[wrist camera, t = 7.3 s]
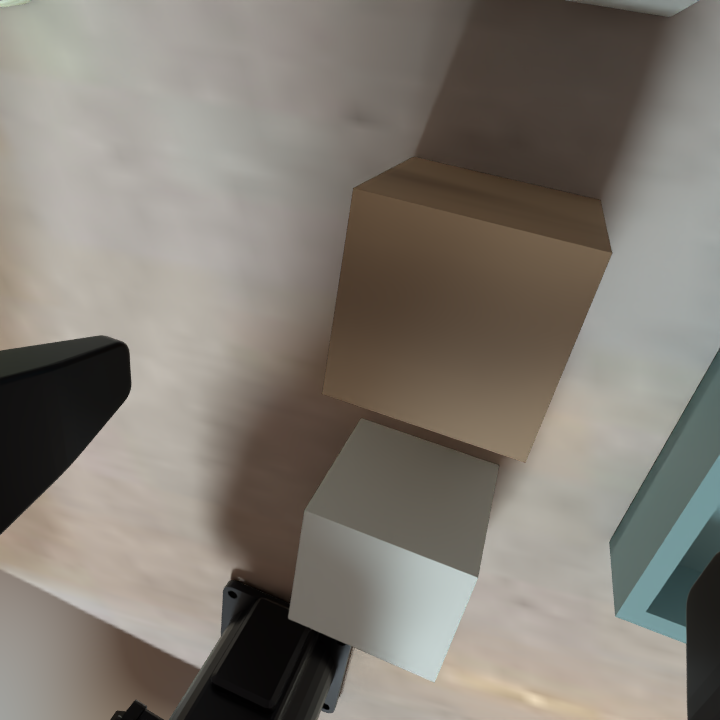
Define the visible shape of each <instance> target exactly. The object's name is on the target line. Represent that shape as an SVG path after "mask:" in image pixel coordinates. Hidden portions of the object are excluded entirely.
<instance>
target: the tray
mask: <svg viewBox="0 0 720 720" xmlns="http://www.w3.org/2000/svg"><path fill="white" fill-rule="evenodd" d="M609 543H610V556H611V569H612V582H613V594H614V607H615V617H618V618H621V619H623V620H626V621H628V622H631V623H634V624H636V625H639V626H641V627H644V628H647V629H649V630H652V631H654V632H657V633H660V634H662V635H665V636H668V637H670V638H673V639H675V640H678V641H681V642H683V643H686V602H687V597H688V594H689V591H690V589H691V587H692V586H693V584H694V583H695V582H696V580H697V579H698V578H699V576H700V575H701V573H702V572H703V571H704V569H705V568H706V566H707V565H708V564H709V562H710V561H711V559H712V558H713V557H714V556H715V555H716V553H718V552H719V551H720V349H719V351H718V353H717V355H716V356H715V358H714V360H713V362H712V363H711V365H710V367H709V369H708V370H707V372H706V374H705V376H704V377H703V379H702V381H701V383H700V384H699V386H698V388H697V390H696V391H695V393H694V395H693V397H692V398H691V400H690V402H689V404H688V405H687V407H686V409H685V411H684V412H683V414H682V416H681V418H680V419H679V421H678V423H677V425H676V426H675V428H674V430H673V432H672V433H671V435H670V437H669V439H668V440H667V442H666V444H665V446H664V447H663V449H662V451H661V453H660V454H659V456H658V458H657V460H656V461H655V463H654V465H653V467H652V468H651V470H650V472H649V474H648V475H647V477H646V479H645V481H644V482H643V484H642V486H641V488H640V489H639V491H638V493H637V495H636V496H635V498H634V500H633V502H632V503H631V505H630V507H629V509H628V510H627V512H626V514H625V516H624V517H623V519H622V521H621V523H620V524H619V526H618V528H617V530H616V531H615V533H614V535H613V537H612V538H611V540H610V542H609Z"/></svg>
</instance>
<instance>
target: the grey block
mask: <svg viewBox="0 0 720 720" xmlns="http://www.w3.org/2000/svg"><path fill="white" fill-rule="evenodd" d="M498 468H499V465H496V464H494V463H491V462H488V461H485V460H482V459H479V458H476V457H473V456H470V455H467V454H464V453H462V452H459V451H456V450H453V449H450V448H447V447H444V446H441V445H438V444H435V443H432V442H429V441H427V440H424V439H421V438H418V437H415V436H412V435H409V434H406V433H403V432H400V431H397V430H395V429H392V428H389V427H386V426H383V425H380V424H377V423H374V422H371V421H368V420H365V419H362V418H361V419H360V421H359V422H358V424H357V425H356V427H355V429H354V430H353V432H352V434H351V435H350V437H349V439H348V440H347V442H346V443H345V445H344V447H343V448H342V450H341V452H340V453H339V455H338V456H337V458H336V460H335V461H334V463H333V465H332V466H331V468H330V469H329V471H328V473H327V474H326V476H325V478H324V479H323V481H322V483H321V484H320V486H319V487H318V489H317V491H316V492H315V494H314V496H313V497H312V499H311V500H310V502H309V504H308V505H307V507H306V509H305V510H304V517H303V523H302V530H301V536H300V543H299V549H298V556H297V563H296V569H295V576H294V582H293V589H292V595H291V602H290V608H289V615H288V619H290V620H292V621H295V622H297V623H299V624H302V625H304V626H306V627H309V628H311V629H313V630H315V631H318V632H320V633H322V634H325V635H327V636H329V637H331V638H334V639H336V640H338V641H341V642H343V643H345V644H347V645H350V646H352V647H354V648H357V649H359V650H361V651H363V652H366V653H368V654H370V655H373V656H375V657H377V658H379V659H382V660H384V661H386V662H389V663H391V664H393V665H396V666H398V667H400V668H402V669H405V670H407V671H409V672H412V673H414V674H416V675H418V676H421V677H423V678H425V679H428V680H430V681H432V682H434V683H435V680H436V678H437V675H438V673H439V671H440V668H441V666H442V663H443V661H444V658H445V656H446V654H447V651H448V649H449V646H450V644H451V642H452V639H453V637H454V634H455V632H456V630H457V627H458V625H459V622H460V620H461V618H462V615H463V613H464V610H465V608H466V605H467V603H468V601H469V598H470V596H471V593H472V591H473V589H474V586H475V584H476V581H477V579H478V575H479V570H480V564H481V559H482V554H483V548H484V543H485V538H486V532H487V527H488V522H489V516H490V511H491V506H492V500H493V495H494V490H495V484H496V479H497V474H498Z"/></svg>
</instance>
